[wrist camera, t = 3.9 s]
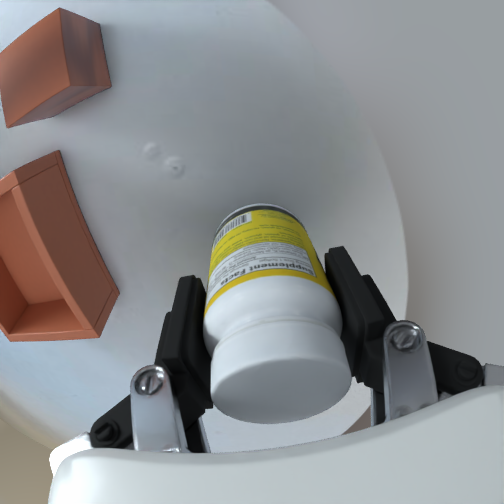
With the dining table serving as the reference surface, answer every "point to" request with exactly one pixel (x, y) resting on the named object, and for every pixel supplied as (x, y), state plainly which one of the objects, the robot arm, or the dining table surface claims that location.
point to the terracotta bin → (49, 259)
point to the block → (52, 68)
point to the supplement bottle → (271, 321)
